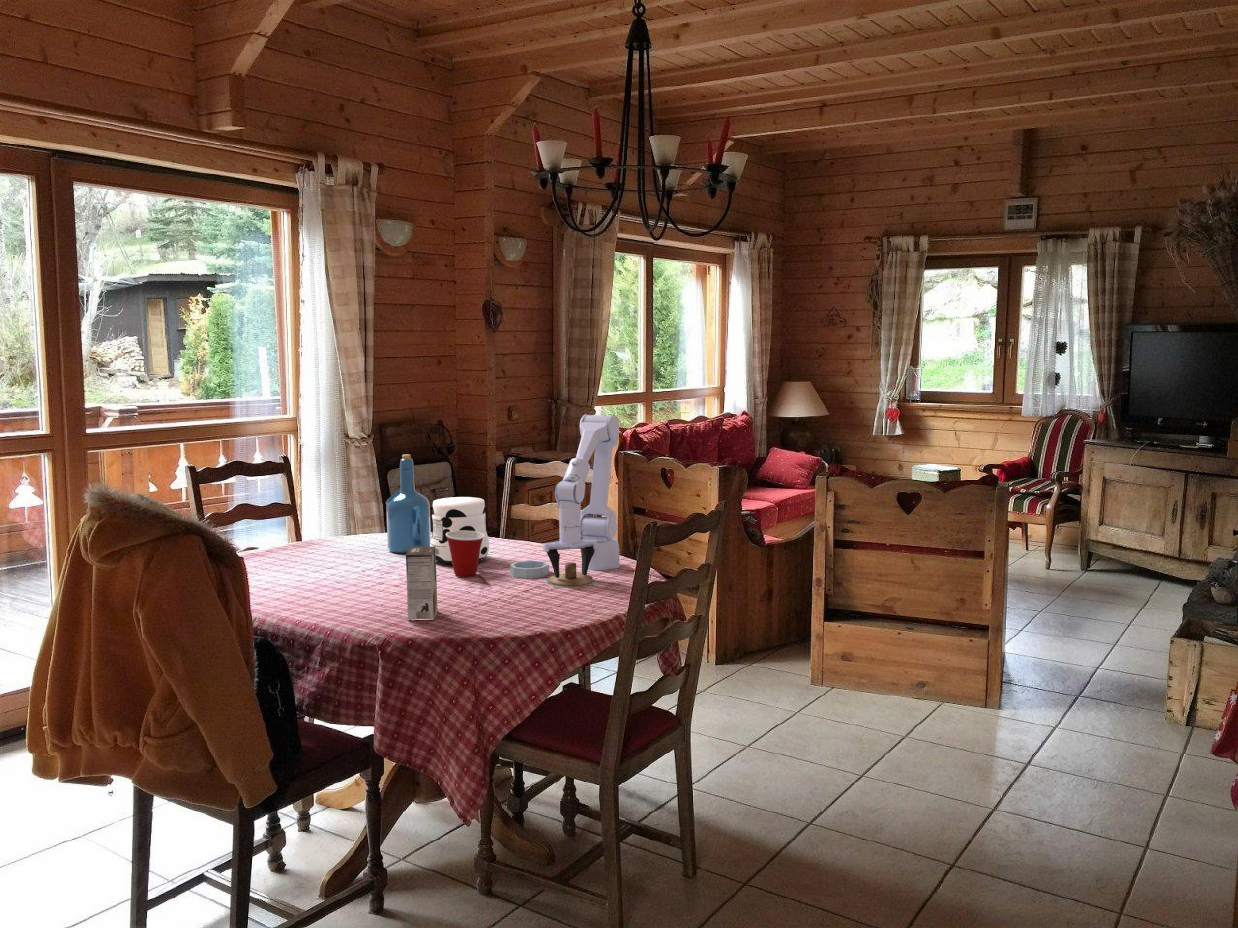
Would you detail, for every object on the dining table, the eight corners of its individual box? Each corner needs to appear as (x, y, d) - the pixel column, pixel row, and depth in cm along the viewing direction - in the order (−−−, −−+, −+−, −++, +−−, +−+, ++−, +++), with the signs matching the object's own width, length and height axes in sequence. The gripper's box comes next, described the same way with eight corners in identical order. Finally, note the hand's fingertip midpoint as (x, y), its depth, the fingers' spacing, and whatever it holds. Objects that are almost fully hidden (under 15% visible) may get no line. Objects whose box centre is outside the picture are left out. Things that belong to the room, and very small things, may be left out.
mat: (585, 577, 281) (585, 574, 281) (599, 587, 270) (599, 584, 270) (543, 581, 277) (543, 578, 277) (555, 592, 266) (555, 588, 266)
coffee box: (411, 611, 249) (409, 546, 247) (438, 610, 249) (436, 545, 247) (407, 621, 240) (404, 554, 238) (434, 620, 240) (432, 553, 238)
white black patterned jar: (496, 555, 310) (495, 497, 308) (479, 568, 294) (477, 506, 291) (442, 553, 314) (440, 495, 311) (421, 566, 297) (420, 505, 294)
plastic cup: (478, 580, 279) (477, 537, 277) (440, 579, 281) (439, 536, 279) (491, 571, 289) (490, 530, 288) (455, 570, 292) (453, 528, 290)
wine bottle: (437, 546, 324) (435, 452, 320) (420, 555, 311) (417, 457, 307) (398, 544, 327) (394, 451, 323) (379, 553, 314) (375, 456, 310)
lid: (584, 574, 281) (584, 557, 280) (598, 584, 270) (598, 566, 269) (544, 578, 277) (543, 560, 276) (556, 588, 266) (555, 570, 266)
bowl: (542, 571, 289) (542, 559, 288) (552, 579, 280) (552, 566, 279) (507, 574, 286) (507, 562, 285) (516, 582, 276) (516, 570, 276)
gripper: (547, 530, 265) (548, 581, 267) (600, 526, 270) (601, 576, 272) (540, 525, 272) (541, 575, 274) (592, 521, 277) (592, 570, 279)
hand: (570, 575), depth 273 cm, fingers open, 7 cm apart
